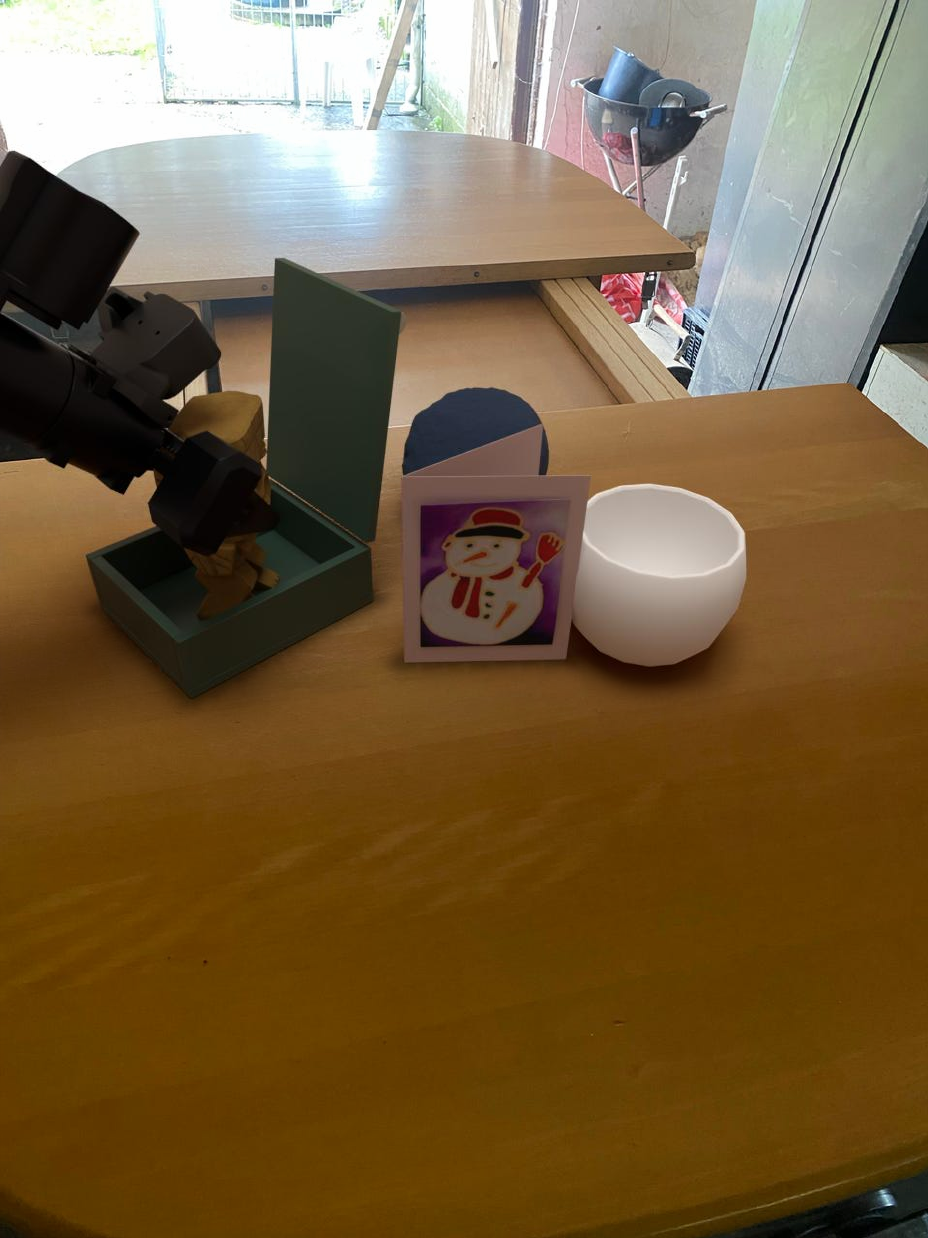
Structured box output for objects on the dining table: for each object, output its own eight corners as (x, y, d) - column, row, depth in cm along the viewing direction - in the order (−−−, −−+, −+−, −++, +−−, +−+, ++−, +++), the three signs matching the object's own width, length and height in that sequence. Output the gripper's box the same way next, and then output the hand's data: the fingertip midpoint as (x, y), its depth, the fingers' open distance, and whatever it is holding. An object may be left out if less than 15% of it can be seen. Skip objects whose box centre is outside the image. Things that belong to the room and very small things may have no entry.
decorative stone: (435, 468, 85) (436, 366, 78) (559, 496, 81) (571, 392, 75) (381, 534, 76) (377, 426, 70) (517, 569, 73) (526, 458, 67)
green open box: (191, 699, 61) (178, 642, 58) (100, 609, 68) (84, 554, 65) (373, 601, 69) (371, 547, 66) (276, 530, 76) (270, 478, 73)
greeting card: (404, 671, 64) (401, 484, 54) (403, 603, 69) (400, 423, 60) (567, 667, 64) (593, 483, 55) (553, 601, 70) (574, 423, 60)
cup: (550, 582, 72) (562, 475, 66) (708, 589, 72) (735, 482, 66) (558, 693, 62) (572, 580, 56) (739, 701, 62) (774, 588, 56)
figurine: (266, 630, 65) (239, 442, 56) (175, 624, 65) (133, 436, 56) (288, 572, 71) (266, 391, 61) (203, 566, 71) (169, 385, 61)
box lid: (392, 311, 57) (443, 307, 60) (274, 257, 64) (325, 255, 67) (366, 543, 66) (412, 529, 68) (265, 474, 72) (311, 464, 75)
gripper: (206, 316, 45) (386, 445, 58) (38, 223, 55) (223, 350, 68) (91, 512, 45) (294, 595, 59) (-54, 384, 56) (147, 479, 69)
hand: (237, 494), depth 63 cm, fingers open, 9 cm apart
